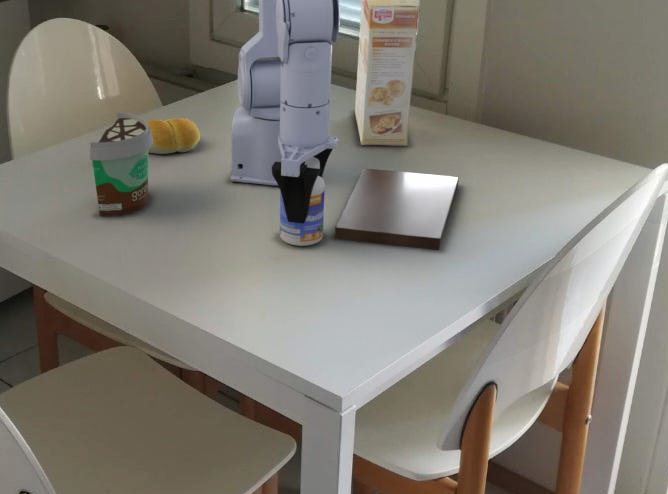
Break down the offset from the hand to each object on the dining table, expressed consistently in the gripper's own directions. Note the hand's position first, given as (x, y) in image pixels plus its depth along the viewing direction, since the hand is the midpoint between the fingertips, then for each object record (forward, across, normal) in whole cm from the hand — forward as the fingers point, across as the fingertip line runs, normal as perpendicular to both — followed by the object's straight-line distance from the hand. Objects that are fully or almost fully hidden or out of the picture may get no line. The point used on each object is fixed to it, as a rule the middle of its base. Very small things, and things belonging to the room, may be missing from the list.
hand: (302, 211), depth 135 cm
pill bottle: (+4, 0, 0) cm, 4 cm away
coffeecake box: (+4, +41, -3) cm, 41 cm away
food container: (+4, +5, +24) cm, 25 cm away
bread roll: (+4, +26, +26) cm, 37 cm away
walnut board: (+3, +11, -10) cm, 16 cm away
